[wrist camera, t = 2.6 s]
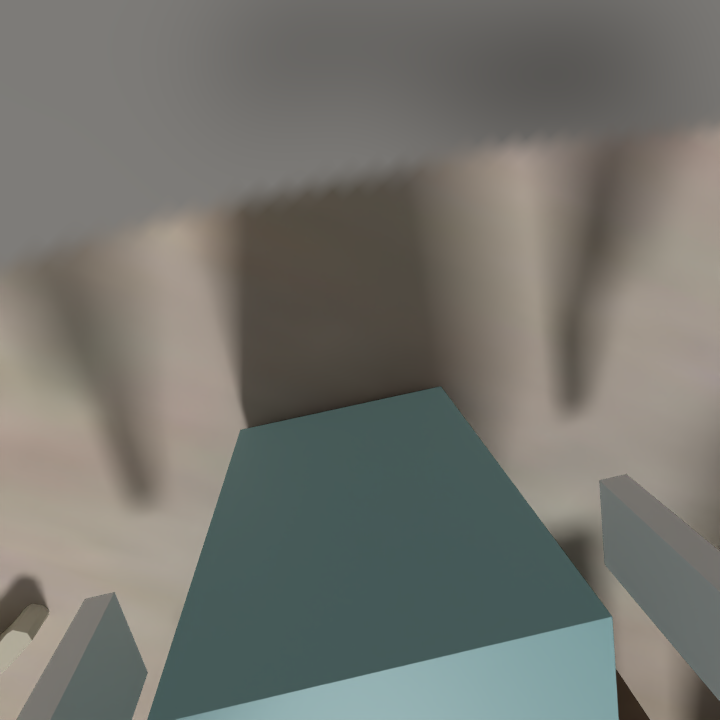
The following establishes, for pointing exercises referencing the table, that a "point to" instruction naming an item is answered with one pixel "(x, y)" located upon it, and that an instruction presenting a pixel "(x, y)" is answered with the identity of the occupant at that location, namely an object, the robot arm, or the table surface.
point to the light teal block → (383, 583)
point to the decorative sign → (21, 634)
